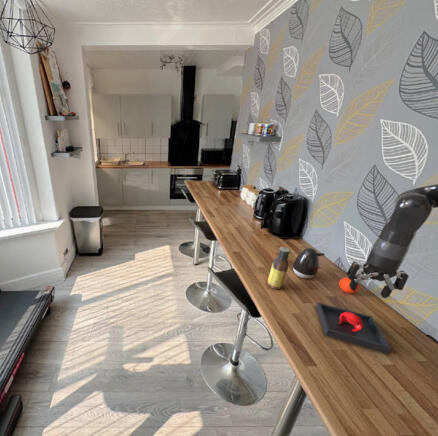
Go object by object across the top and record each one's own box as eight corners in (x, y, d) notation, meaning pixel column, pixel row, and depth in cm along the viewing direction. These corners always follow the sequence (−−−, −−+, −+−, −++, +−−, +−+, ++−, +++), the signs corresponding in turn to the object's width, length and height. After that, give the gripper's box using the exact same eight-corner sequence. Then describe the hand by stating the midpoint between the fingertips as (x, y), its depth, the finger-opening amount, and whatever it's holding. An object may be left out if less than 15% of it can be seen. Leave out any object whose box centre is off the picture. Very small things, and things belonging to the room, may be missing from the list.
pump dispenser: (315, 284, 110) (326, 257, 104) (290, 276, 115) (299, 250, 109) (314, 273, 118) (324, 247, 112) (291, 266, 123) (299, 241, 117)
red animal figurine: (335, 316, 92) (340, 304, 89) (354, 321, 90) (360, 309, 87) (341, 332, 85) (347, 319, 83) (361, 338, 83) (368, 325, 80)
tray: (368, 321, 91) (371, 316, 90) (387, 353, 78) (391, 348, 77) (316, 307, 97) (318, 302, 96) (325, 335, 84) (328, 330, 83)
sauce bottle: (273, 280, 112) (285, 244, 104) (284, 288, 107) (297, 251, 99) (263, 283, 110) (274, 246, 102) (274, 291, 104) (286, 253, 96)
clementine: (351, 287, 109) (357, 274, 106) (362, 297, 103) (369, 284, 100) (333, 285, 110) (338, 273, 107) (343, 295, 104) (349, 282, 101)
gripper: (364, 253, 74) (346, 294, 80) (425, 264, 69) (399, 306, 75) (355, 242, 80) (339, 281, 86) (410, 251, 75) (388, 291, 82)
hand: (367, 292), depth 81 cm, fingers open, 8 cm apart
